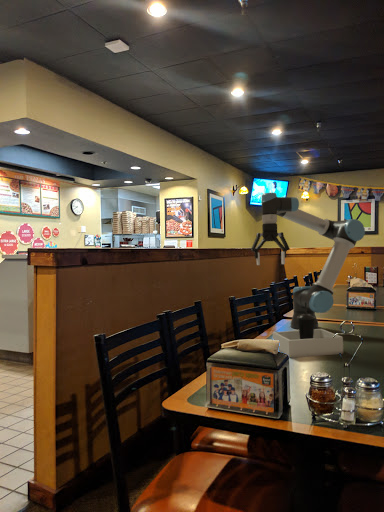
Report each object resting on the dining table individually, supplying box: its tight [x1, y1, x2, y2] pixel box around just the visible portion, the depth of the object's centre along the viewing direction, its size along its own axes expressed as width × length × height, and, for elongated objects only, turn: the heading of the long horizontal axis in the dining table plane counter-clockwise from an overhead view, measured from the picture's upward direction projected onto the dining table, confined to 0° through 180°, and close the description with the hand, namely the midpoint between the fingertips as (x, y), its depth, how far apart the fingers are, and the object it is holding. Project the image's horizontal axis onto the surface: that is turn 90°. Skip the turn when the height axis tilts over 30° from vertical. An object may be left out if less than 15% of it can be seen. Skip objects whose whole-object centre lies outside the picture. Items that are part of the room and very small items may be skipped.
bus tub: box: [272, 328, 344, 358], centre depth 174 cm, size 24×18×7 cm
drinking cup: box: [297, 302, 315, 339], centre depth 174 cm, size 8×8×20 cm
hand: (270, 264), depth 206 cm, fingers open, 13 cm apart
